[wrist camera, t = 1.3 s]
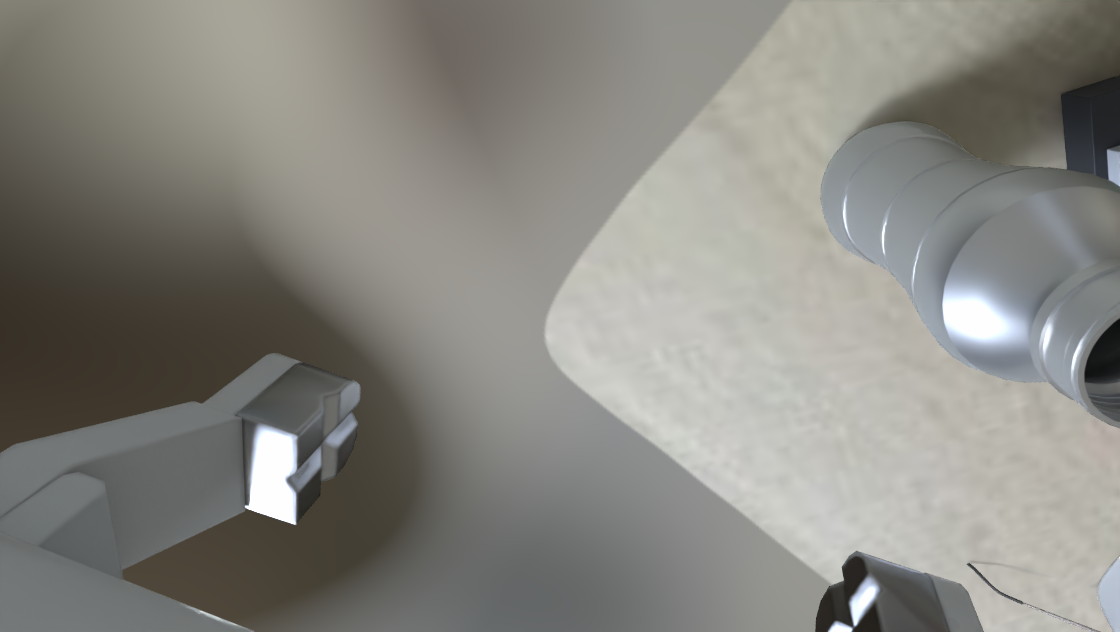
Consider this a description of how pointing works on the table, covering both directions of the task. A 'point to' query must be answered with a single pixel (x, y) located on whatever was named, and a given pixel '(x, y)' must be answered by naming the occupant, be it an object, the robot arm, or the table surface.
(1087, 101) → the scale
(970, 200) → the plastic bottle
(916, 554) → the table surface
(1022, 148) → the table surface
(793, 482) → the table surface
